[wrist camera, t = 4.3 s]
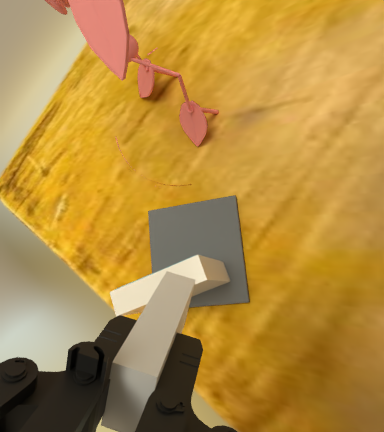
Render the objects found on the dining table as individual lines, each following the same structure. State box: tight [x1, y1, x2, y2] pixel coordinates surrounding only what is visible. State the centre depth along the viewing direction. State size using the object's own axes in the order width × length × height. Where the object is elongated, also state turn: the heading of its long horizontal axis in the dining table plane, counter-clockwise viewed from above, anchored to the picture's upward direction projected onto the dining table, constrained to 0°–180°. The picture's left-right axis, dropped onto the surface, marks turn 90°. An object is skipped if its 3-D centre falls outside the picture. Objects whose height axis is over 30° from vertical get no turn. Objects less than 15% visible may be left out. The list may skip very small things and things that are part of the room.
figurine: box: [45, 0, 218, 186], centre depth 33 cm, size 15×26×35 cm, turn 41°
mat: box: [148, 196, 250, 307], centre depth 43 cm, size 12×13×1 cm
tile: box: [110, 255, 230, 316], centre depth 38 cm, size 10×3×10 cm, turn 111°
